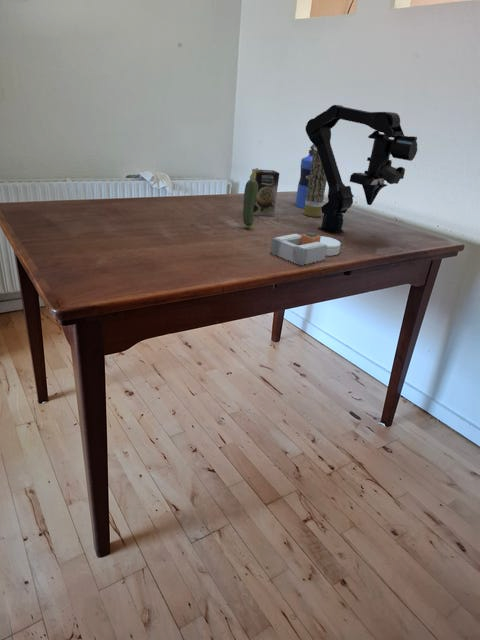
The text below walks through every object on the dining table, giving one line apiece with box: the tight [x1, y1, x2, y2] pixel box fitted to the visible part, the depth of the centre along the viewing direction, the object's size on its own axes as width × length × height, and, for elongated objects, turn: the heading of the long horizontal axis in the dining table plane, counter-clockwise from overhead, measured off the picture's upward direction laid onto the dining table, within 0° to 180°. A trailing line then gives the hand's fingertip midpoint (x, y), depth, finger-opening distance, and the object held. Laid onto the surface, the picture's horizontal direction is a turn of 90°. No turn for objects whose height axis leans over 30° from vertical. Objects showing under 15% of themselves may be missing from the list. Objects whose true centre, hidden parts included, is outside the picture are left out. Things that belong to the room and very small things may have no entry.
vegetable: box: [242, 167, 260, 229], centre depth 151 cm, size 4×4×20 cm
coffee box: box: [251, 168, 280, 217], centre depth 172 cm, size 9×6×16 cm
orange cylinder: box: [300, 231, 321, 245], centre depth 135 cm, size 4×4×6 cm
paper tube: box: [303, 148, 327, 218], centre depth 176 cm, size 7×7×25 cm
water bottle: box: [294, 143, 316, 209], centre depth 190 cm, size 9×9×25 cm
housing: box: [270, 233, 327, 266], centre depth 132 cm, size 12×10×5 cm
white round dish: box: [320, 235, 341, 257], centre depth 140 cm, size 10×10×4 cm
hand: (369, 204), depth 150 cm, fingers closed
